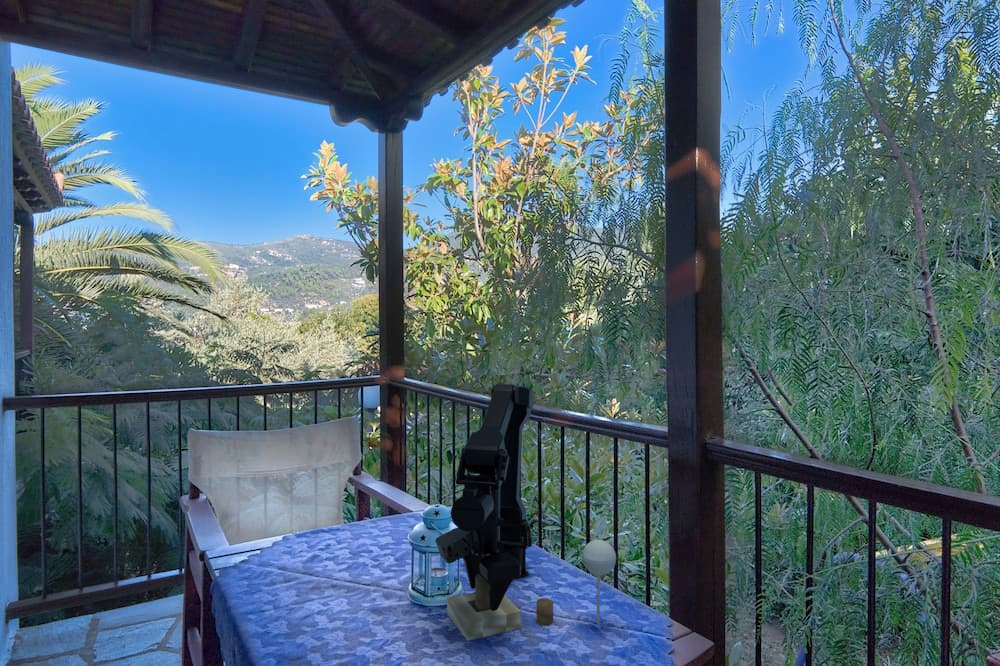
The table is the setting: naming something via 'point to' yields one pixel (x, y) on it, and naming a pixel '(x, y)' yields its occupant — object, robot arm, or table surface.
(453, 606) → the bored block
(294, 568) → the table surface
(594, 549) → the lollipop
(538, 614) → the short pin
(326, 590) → the table surface
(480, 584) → the long pin
